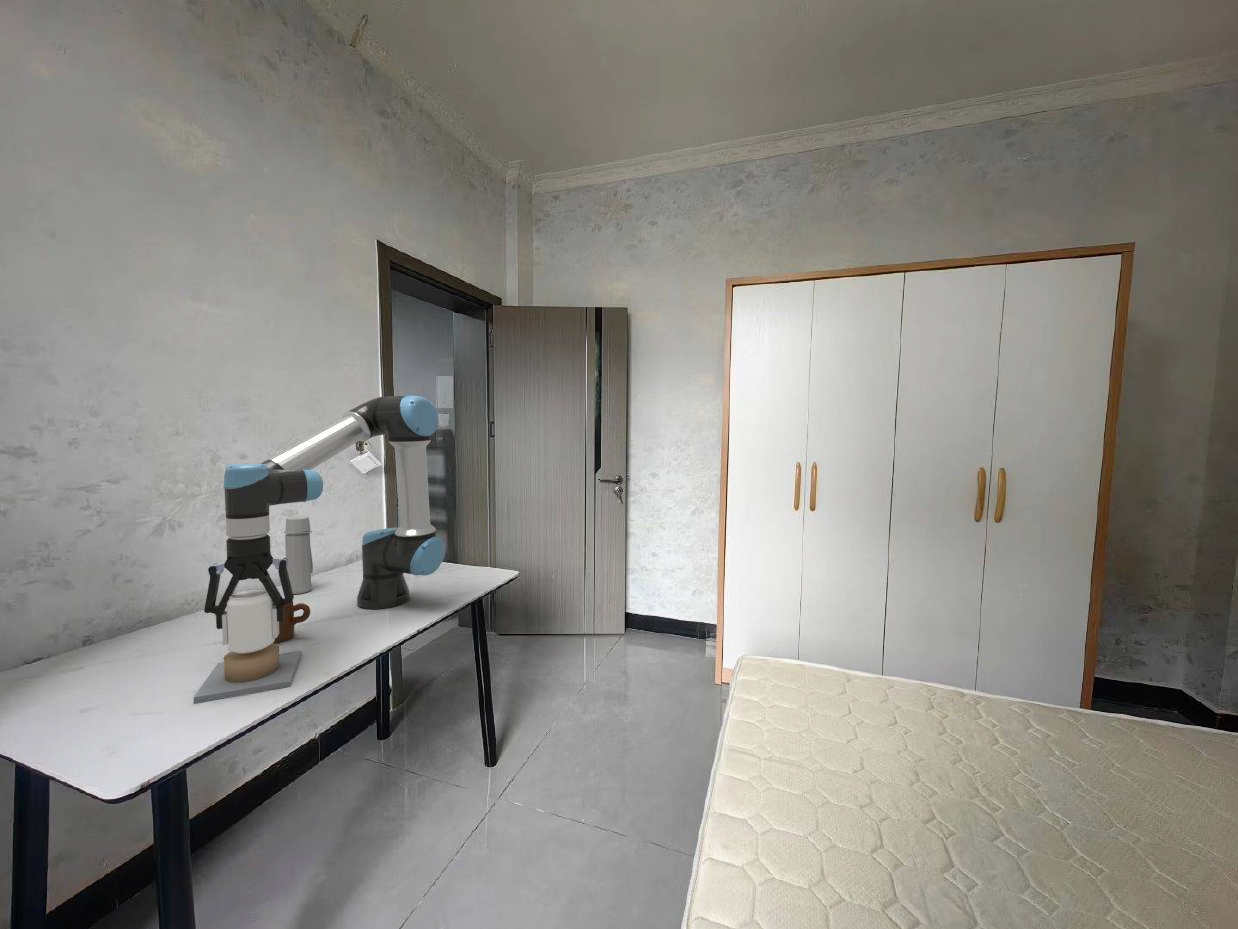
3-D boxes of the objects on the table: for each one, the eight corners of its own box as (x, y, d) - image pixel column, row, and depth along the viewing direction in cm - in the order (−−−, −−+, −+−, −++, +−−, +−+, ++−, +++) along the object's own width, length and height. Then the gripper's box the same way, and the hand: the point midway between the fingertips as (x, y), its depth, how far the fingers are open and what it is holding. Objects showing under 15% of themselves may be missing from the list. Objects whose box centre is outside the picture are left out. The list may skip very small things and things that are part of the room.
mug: (317, 631, 132) (317, 597, 131) (303, 643, 124) (302, 607, 124) (269, 633, 131) (269, 598, 130) (252, 645, 123) (250, 608, 122)
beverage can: (245, 639, 111) (243, 587, 110) (282, 638, 111) (281, 587, 111) (218, 655, 103) (216, 599, 102) (259, 654, 103) (258, 599, 103)
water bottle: (300, 596, 160) (298, 520, 158) (279, 594, 162) (277, 519, 160) (322, 587, 169) (320, 515, 167) (302, 585, 171) (301, 514, 169)
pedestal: (301, 655, 118) (300, 632, 118) (290, 686, 104) (289, 660, 103) (218, 668, 111) (217, 644, 111) (193, 703, 97) (192, 675, 96)
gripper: (307, 529, 113) (310, 625, 115) (192, 536, 104) (196, 640, 106) (303, 535, 107) (305, 637, 108) (179, 543, 98) (184, 654, 99)
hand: (252, 638), depth 107 cm, fingers closed on beverage can, 8 cm apart
